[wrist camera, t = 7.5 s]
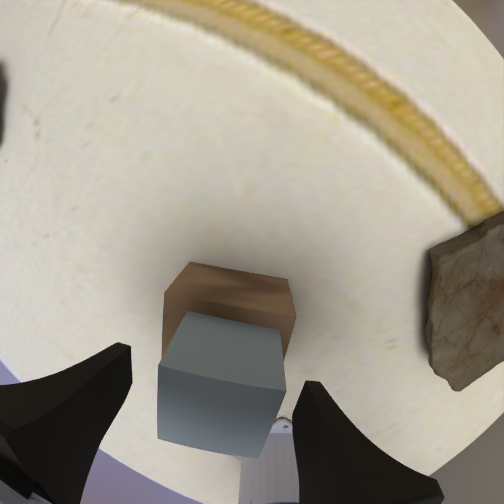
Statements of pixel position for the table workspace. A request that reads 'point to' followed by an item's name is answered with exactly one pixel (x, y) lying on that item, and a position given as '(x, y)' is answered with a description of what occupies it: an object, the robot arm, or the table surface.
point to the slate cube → (220, 385)
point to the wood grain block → (228, 300)
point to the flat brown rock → (467, 304)
